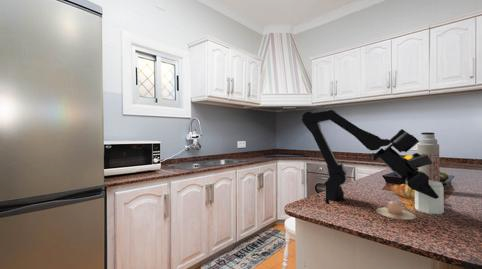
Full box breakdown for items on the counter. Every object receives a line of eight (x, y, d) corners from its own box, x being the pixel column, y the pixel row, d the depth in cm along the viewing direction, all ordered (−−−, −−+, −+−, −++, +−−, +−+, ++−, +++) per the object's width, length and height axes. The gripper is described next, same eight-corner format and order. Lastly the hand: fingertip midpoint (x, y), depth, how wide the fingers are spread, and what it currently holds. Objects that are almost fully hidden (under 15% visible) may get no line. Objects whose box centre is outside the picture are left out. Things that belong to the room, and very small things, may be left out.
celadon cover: (421, 216, 74) (421, 183, 74) (412, 209, 81) (411, 179, 81) (447, 218, 72) (447, 184, 72) (435, 211, 79) (435, 180, 79)
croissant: (448, 213, 86) (454, 194, 87) (433, 204, 83) (440, 184, 84) (393, 197, 106) (399, 182, 107) (380, 189, 103) (386, 174, 104)
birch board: (381, 221, 71) (381, 217, 71) (372, 209, 81) (372, 206, 81) (422, 224, 67) (422, 220, 67) (407, 212, 78) (407, 209, 78)
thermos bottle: (444, 193, 101) (443, 132, 101) (424, 192, 102) (423, 132, 102) (432, 189, 109) (431, 132, 109) (414, 188, 110) (413, 132, 110)
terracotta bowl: (390, 214, 73) (390, 203, 73) (386, 210, 77) (386, 200, 77) (404, 215, 72) (404, 204, 72) (399, 211, 76) (399, 201, 76)
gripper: (420, 147, 70) (468, 185, 65) (408, 144, 87) (446, 175, 81) (390, 170, 74) (434, 208, 69) (384, 163, 90) (419, 193, 85)
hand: (433, 195), depth 76 cm, fingers closed on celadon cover, 7 cm apart
